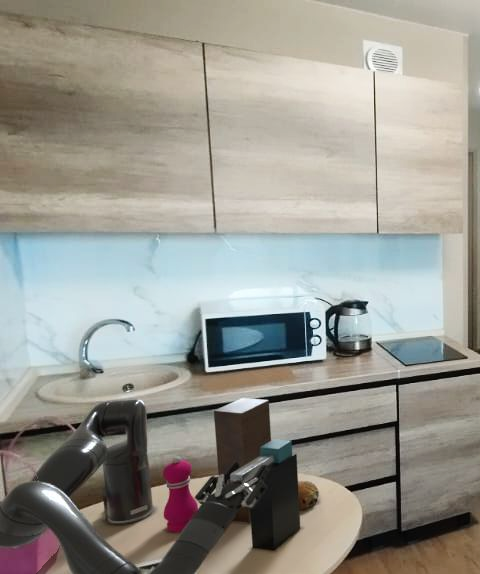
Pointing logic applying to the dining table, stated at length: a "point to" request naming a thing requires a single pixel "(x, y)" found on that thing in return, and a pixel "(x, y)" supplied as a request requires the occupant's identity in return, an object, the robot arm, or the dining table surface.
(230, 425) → the plinth
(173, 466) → the pepper mill
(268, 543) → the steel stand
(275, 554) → the dining table surface
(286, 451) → the handle bar
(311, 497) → the bread roll
